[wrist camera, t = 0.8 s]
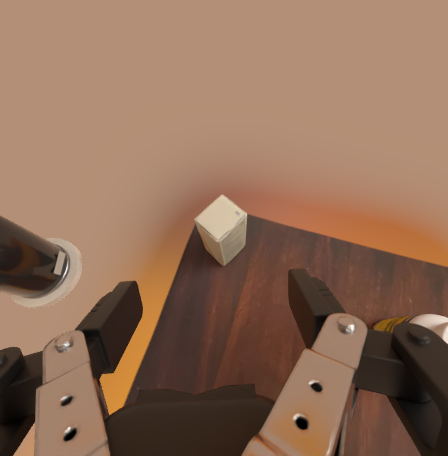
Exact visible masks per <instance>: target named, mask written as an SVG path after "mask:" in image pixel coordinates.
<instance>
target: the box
mask: <svg viewBox="0 0 448 456" xmlns="http://www.w3.org/2000/svg"><path fill="white" fill-rule="evenodd" d="M194 221H195V223H196V226H197V228H198V231H199V233H200V236H201V238H202V241H203V243H204V246H205V248H206V250H207V251H208V252H209V253H210V254H211V255H212V256H213V257H214V258H215V259H216V260H217V261H218V262H219V263H220V264H221V265H222V266H225V265H226V264H228V263H229V262H230V261H231V260H232V259H233V258H234V257H235V256H236V255H237V254H238V253H239V251H240V250H241V249H242V248H243V247H244V246H245V239H246V223H247V213H245V212H244V211H243V210H241V208H239V207H238V206H237V205H236V204H234V203H233V202H232V201H231V200H229V199H228V198H227V197H225V196H224V195H221V196H220V197H219V198H217V199H216V200H215V201H214V202H213V203H212V204H210V205H209V206H208V207H207V208H206V209H205V210H204V211H203V212H202V213H200V214H199V215H198V216H197V217H196V218H195V219H194Z"/></svg>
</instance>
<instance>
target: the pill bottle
mask: <svg viewBox="0 0 448 456" xmlns="http://www.w3.org/2000/svg"><path fill="white" fill-rule="evenodd" d="M404 322H406V323H414V324H418V325H421V326H424V327H426V328H428V329H430V330H432V331H433V332H435V333H436V334H437V335H439V336H440V337H441V338H442V339H443V340H444V341H445V342H446V343H447V344H448V318H446V317H443V316H440V315H434V314H424V315H416V316H407V317H399V318H391V319H384V320H381V321H379V322H377V323H376V324H375V325H374V326H373V327H372V330H378V331H384V332H390V333H393V327H394V326H395V325H396V324H398V323H404Z"/></svg>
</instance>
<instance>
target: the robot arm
mask: <svg viewBox="0 0 448 456" xmlns="http://www.w3.org/2000/svg"><path fill="white" fill-rule="evenodd" d="M69 269H70V257H69V254H68V252H67V251H66V250H65V249H64V248H63V247H61V246H59V245H57V244H54V243H52V242H50V241H48V240H46V239H44V238H42V237H40V236H39V235H36V234H35V233H33V232H31V231H29V230H27V229H25V228H23V227H21V226H19V225H17V224H15V223H14V222H11V221H10V220H8V219H6V218H4V217H2V216H0V292H2V293H8V294H12V295H17V296H21V297H24V298H29V299H37V298H42V297H45V296H47V295H49V294H51V293H52V292H54V291H55V290H56V289H57V288H58V287H59V286H60V285H61V284H62V283H63V282H64V280H65V279H66V277H67V275H68V273H69ZM288 295H289V304H290V308H291V310H292V313H293V315H294V318H295V320H296V323H297V325H298V328H299V330H300V333H301V335H302V338H303V340H304V343H305V345H306V348H305V349H304V351H303V352H302V354H301V356H300V358H299V360H298V362H297V364H296V366H295V367H294V369H293V371H292V373H291V375H290V377H289V379H288V380H287V382H286V384H285V386H284V388H283V390H282V392H281V394H280V395H279V397H278V399H277V401H276V402H275V401H273V400H271V399H269V398H267V397H264V396H261V395H256V394H255V385H254V384H246V385H228V386H223V387H220V388H217V389H213V390H210V391H207V392H204V393H201V394H197V395H193V394H188V393H184V392H179V391H175V390H170V389H157V390H140V391H139V394H138V397H137V400H136V402H133V403H131V404H128V405H126V406H124V407H122V408H120V409H119V410H117V411H116V412H114V413H112V414H111V415H110V416H109V413H108V409H107V405H106V401H105V398H104V394H103V390H102V386H101V383H100V380H99V379H100V377H101V375H102V374H108V373H114V371H115V369H116V367H117V365H118V363H119V361H120V359H121V357H122V355H123V353H124V351H125V349H126V347H127V345H128V343H129V341H130V339H131V337H132V335H133V333H134V332H135V330H136V328H137V326H138V323H139V322H140V320H141V317H142V313H143V306H142V301H141V297H140V293H139V289H138V285H137V282H136V281H126V282H120V283H119V284H118V285H117V286H116V287H115V289H114V290H113V291H112V292H109V293H108V294H106V295H105V296H104V297H102V298H101V299H100V300H99V302H98V303H97V304H96V305H95V307H93V309H92V310H91V312H89V313H88V315H87V316H86V317H85V318H84V319H83V320H82V322H81V323H80V324H79V325H78V326H77V328H76V329H75V330H74V331H69V332H66V333H63V334H61V335H59V336H57V337H56V338H54V339H53V340H51V341H50V342H49V343H48V344H47V345H46V346H45V348H44V350H43V351H40V352H37V353H33V354H30V355H27V356H23V354H22V352H21V350H20V348H18V347H10V348H6V349H3V350H0V456H13V455H14V453H15V452H16V450H17V449H18V447H19V446H20V444H21V442H22V441H23V439H24V438H25V436H26V435H27V433H28V432H29V430H30V429H31V427H32V426H33V424H34V422H35V446H34V447H35V448H34V456H345V455H346V449H347V444H348V438H349V433H350V429H351V424H352V420H353V416H354V412H355V408H356V403H357V399H358V395H359V391H360V389H363V390H368V391H372V392H376V393H380V394H384V395H386V396H387V397H388V399H389V401H390V403H391V404H392V406H393V408H394V409H395V411H396V413H397V415H398V416H399V418H400V420H401V422H402V423H403V425H404V427H405V428H406V430H407V432H408V434H409V435H410V437H411V439H412V440H413V442H414V444H415V446H416V447H417V449H418V451H419V452H420V454H421V456H448V344H447V343H446V342H445V341H444V340H443V339H442V338H441V337H440V336H439V335H437V334H436V333H435V332H433V331H432V330H430V329H428V328H426V327H424V326H421V325H418V324H414V323H406V322H404V323H398V324H396V325H395V326H394V327H393V333H390V332H384V331H378V330H372V329H369V328H367V327H366V325H365V324H364V323H363V322H362V321H361V320H360V319H359V318H357V317H355V316H353V315H350V314H347V313H346V312H345V310H344V309H343V308H342V306H341V305H340V304H339V302H338V301H337V299H336V298H335V297H334V296H333V294H332V293H331V291H330V290H329V288H328V287H327V286H326V284H325V283H324V282H322V281H321V280H319V279H318V278H316V277H315V278H310V277H309V275H308V274H307V272H306V270H305V269H291V270H289V273H288Z"/></svg>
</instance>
